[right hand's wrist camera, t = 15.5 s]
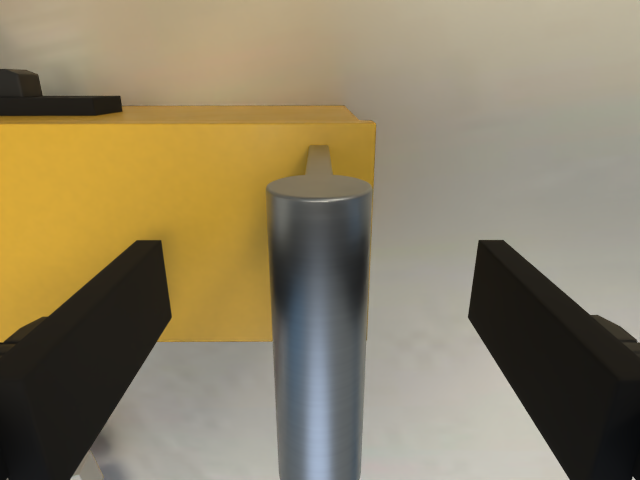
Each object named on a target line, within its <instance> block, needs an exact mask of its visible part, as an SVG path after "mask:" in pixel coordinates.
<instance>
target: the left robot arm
mask: <svg viewBox="0 0 640 480" xmlns="http://www.w3.org/2000/svg"><path fill="white" fill-rule="evenodd" d="M117 112H123V110H122V104H121V98H120V96H43V95H42V91H41V86H40V81H39V77H38V74H35V73H33V72H30V71H27V70H13V69H0V116H97V115H104V114H111V113H117ZM0 344H4V342H0Z"/></svg>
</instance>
